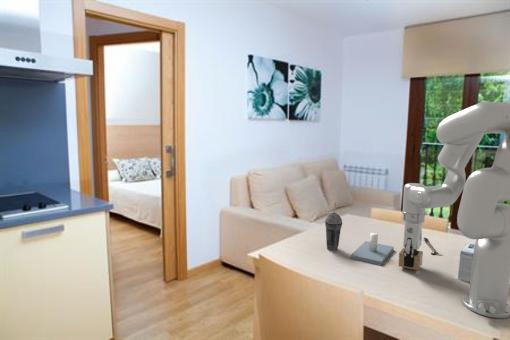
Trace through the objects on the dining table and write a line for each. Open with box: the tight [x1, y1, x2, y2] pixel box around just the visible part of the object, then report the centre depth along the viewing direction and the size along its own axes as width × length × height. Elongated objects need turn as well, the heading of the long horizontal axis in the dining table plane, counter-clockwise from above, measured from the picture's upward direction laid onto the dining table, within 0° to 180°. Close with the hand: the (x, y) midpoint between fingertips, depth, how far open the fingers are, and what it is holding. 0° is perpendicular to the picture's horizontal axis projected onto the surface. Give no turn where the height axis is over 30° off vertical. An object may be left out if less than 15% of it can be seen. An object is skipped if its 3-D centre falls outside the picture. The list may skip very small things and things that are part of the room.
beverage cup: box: [324, 202, 343, 252], centre depth 153 cm, size 7×7×20 cm
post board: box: [350, 232, 394, 266], centre depth 149 cm, size 20×12×8 cm, turn 147°
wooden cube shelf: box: [398, 247, 424, 271], centre depth 135 cm, size 7×7×5 cm
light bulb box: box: [457, 242, 475, 283], centre depth 128 cm, size 11×7×11 cm, turn 141°
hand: (410, 263), depth 135 cm, fingers closed on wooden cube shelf, 7 cm apart
